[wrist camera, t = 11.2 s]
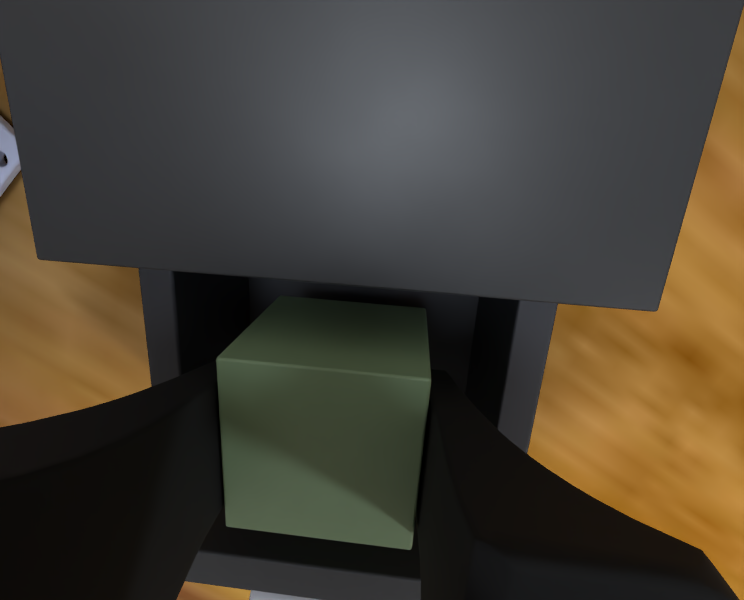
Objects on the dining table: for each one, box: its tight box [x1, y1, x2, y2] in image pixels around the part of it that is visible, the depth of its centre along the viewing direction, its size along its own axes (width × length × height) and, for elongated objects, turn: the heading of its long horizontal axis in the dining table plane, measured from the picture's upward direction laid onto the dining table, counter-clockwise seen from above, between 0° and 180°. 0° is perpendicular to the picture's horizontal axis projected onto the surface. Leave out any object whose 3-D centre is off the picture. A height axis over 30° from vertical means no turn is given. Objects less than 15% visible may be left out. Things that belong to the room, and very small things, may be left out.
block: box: [216, 296, 431, 550], centre depth 10 cm, size 4×4×4 cm
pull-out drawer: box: [139, 268, 558, 600], centre depth 13 cm, size 17×10×6 cm, turn 177°
